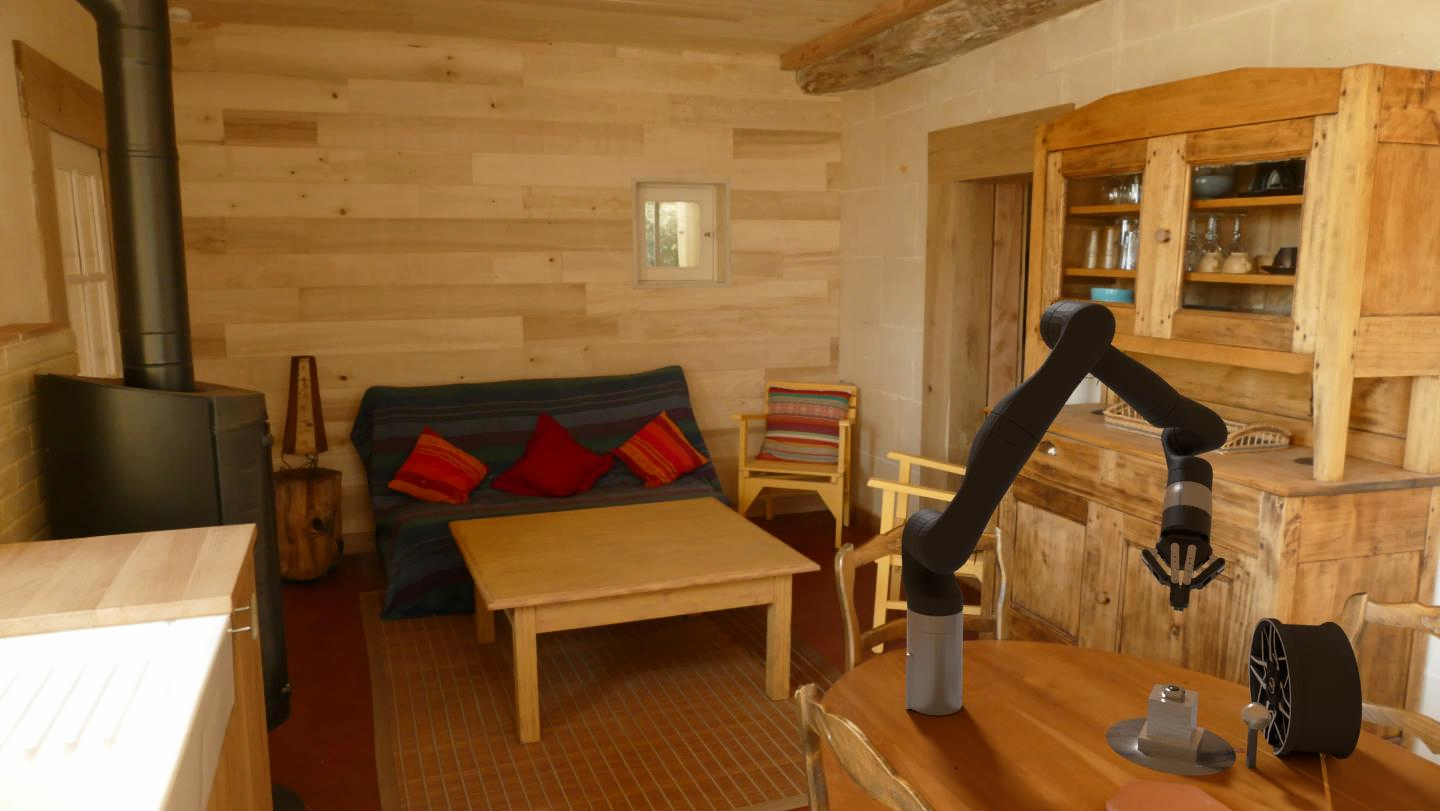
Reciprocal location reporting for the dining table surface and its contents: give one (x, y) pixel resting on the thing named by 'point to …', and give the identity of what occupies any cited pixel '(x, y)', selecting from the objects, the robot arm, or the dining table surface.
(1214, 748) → the turntable
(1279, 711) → the wheel rim
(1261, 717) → the dial indicator post
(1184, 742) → the cover
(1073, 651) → the dining table surface
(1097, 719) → the dining table surface
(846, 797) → the dining table surface
